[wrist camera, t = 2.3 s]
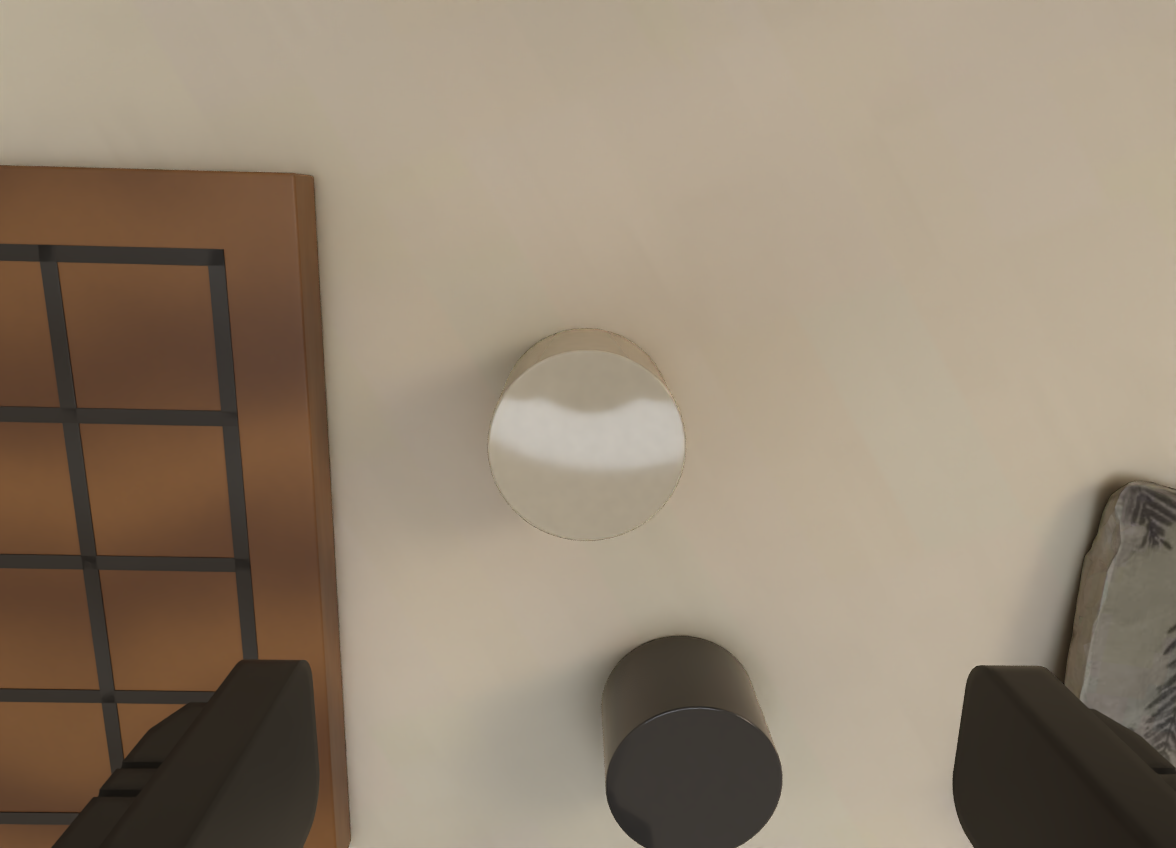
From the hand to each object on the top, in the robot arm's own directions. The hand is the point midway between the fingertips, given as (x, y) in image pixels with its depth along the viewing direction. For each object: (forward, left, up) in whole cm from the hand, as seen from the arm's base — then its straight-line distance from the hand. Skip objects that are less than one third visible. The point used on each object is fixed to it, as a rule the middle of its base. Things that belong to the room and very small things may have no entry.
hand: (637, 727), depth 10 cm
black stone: (+8, +3, -13) cm, 16 cm away
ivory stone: (-1, 0, -13) cm, 13 cm away
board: (+3, -17, -13) cm, 22 cm away
